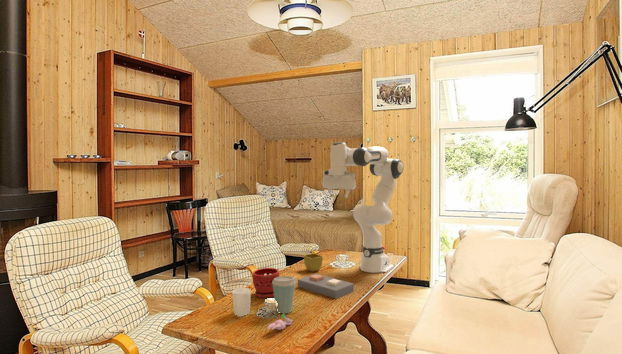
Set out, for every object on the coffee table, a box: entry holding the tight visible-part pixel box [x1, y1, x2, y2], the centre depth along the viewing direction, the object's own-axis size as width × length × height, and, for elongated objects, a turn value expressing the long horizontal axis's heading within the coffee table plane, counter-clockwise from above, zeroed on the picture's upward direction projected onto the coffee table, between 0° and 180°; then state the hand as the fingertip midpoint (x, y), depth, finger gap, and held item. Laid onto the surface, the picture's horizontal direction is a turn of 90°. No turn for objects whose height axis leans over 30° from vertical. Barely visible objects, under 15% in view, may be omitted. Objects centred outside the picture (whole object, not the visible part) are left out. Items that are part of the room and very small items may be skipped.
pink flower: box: [267, 313, 295, 331], centre depth 148 cm, size 6×6×15 cm
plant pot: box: [252, 267, 280, 299], centre depth 186 cm, size 13×13×12 cm
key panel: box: [297, 273, 355, 300], centre depth 194 cm, size 14×26×4 cm, turn 47°
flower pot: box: [303, 253, 324, 272], centre depth 228 cm, size 9×9×9 cm
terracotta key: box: [309, 273, 324, 281], centre depth 198 cm, size 5×5×3 cm
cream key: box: [327, 278, 341, 286], centre depth 190 cm, size 5×5×3 cm
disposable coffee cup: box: [272, 275, 297, 314], centre depth 165 cm, size 11×11×15 cm
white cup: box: [231, 287, 252, 317], centre depth 163 cm, size 8×8×10 cm
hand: (338, 197), depth 204 cm, fingers open, 8 cm apart
